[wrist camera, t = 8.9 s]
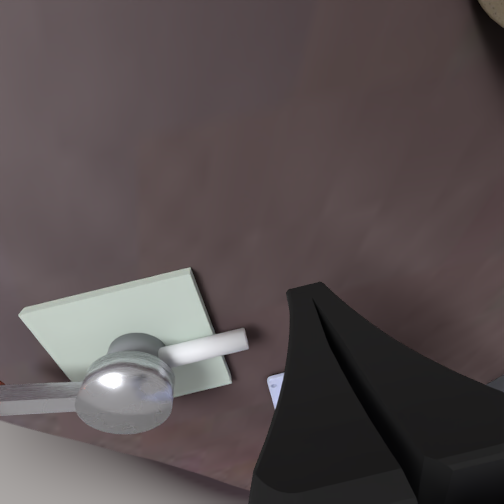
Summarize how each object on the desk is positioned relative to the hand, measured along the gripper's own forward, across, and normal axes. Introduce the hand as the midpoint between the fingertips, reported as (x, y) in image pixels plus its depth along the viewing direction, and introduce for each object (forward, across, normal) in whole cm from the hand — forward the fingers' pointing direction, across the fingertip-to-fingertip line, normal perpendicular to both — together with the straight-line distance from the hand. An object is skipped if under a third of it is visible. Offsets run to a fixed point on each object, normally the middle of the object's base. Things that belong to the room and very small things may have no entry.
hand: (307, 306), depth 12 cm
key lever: (+7, +15, +8) cm, 19 cm away
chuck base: (+10, +11, +9) cm, 17 cm away
